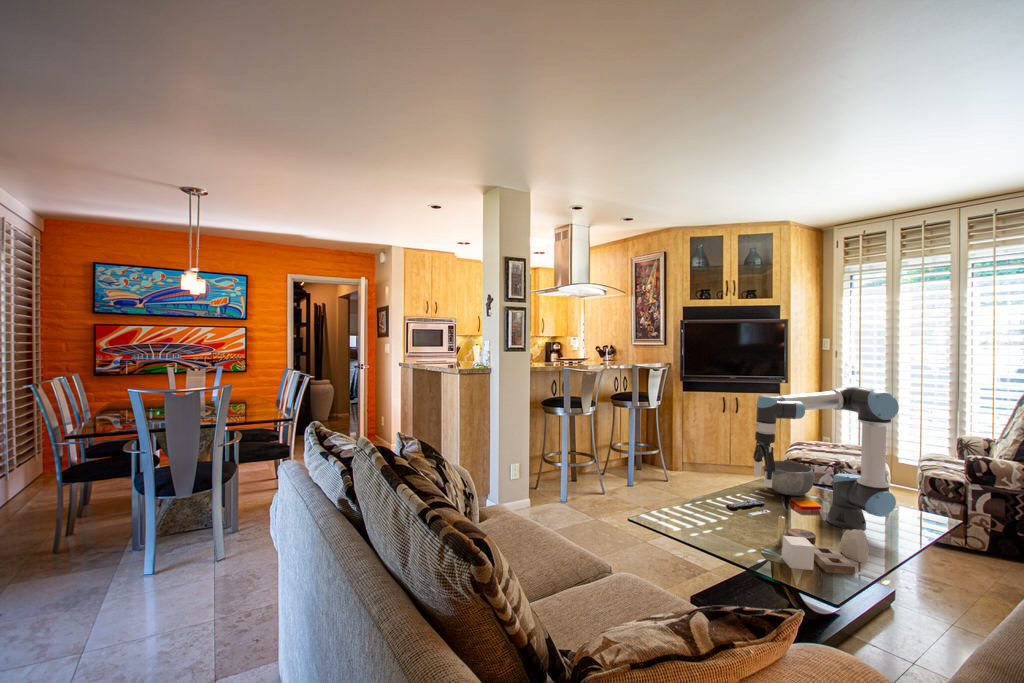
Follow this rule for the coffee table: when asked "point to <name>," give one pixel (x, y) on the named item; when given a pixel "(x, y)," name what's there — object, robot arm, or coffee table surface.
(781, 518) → the pin
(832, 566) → the socket board
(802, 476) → the bowl
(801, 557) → the cube
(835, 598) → the coffee table surface
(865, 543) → the stone
